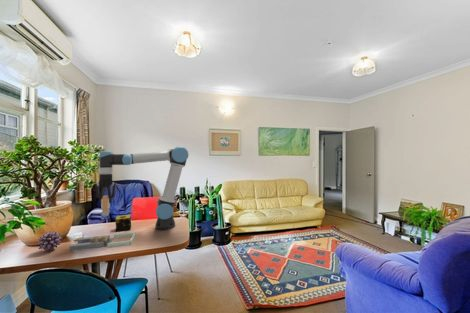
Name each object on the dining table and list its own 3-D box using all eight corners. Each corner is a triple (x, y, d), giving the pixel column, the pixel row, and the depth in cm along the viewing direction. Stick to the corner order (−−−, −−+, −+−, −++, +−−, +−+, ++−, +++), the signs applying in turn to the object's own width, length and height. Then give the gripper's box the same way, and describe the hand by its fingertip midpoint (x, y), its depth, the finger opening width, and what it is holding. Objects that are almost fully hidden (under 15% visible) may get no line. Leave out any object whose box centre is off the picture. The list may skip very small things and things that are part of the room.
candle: (131, 226, 169) (131, 214, 169) (130, 230, 160) (130, 217, 160) (116, 228, 165) (116, 215, 165) (115, 232, 156) (115, 219, 156)
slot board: (114, 239, 142) (114, 234, 142) (108, 248, 128) (107, 242, 128) (80, 243, 136) (80, 237, 136) (69, 252, 123) (69, 246, 123)
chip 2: (108, 241, 136) (107, 235, 136) (106, 243, 132) (105, 237, 132) (101, 242, 135) (101, 235, 135) (98, 244, 131) (98, 238, 131)
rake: (109, 213, 146) (109, 194, 146) (106, 215, 140) (106, 196, 141) (104, 213, 145) (104, 195, 145) (101, 216, 140) (101, 196, 140)
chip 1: (100, 242, 135) (100, 236, 135) (97, 244, 131) (97, 238, 131) (93, 243, 134) (93, 236, 134) (90, 245, 130) (90, 239, 130)
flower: (39, 257, 118) (39, 235, 118) (34, 251, 125) (34, 231, 125) (65, 249, 127) (64, 230, 127) (59, 245, 134) (59, 226, 134)
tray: (135, 236, 146) (135, 232, 146) (130, 245, 131) (130, 240, 131) (114, 239, 143) (114, 234, 143) (107, 248, 127) (107, 243, 127)
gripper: (120, 173, 149) (120, 206, 148) (94, 173, 145) (94, 207, 144) (117, 173, 141) (117, 208, 141) (90, 174, 137) (89, 210, 137)
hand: (105, 208), depth 143 cm, fingers closed on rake, 3 cm apart
